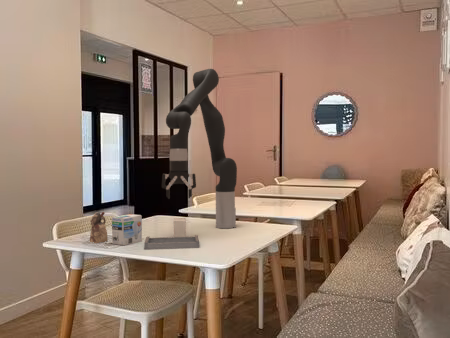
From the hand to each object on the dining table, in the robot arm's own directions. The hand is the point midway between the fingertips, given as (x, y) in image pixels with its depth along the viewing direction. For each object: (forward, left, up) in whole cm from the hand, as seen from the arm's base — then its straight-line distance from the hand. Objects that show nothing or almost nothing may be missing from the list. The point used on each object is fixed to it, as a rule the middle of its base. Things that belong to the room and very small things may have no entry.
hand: (179, 198), depth 182 cm
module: (0, 0, -17) cm, 17 cm away
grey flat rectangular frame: (+3, +14, -17) cm, 22 cm away
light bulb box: (+21, +6, -17) cm, 28 cm away
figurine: (+33, +2, -17) cm, 37 cm away
